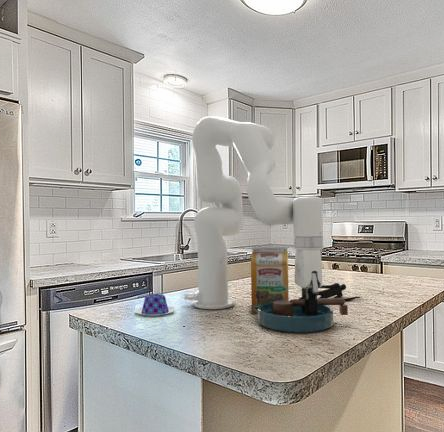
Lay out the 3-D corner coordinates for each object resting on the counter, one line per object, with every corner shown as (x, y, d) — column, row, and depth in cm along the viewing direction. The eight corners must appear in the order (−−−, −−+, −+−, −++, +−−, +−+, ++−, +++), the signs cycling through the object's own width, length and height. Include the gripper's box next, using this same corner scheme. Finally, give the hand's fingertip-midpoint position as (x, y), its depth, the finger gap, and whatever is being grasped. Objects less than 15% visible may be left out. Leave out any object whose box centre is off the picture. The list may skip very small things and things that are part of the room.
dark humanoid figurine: (314, 287, 125) (360, 273, 140) (293, 292, 131) (339, 278, 147) (322, 313, 123) (367, 297, 139) (301, 317, 130) (346, 301, 145)
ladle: (275, 318, 105) (275, 301, 105) (271, 314, 110) (271, 297, 110) (350, 316, 106) (350, 299, 106) (343, 312, 111) (342, 296, 111)
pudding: (152, 319, 115) (152, 300, 115) (126, 313, 124) (126, 295, 124) (183, 312, 124) (183, 294, 124) (157, 306, 132) (157, 290, 132)
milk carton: (288, 306, 130) (287, 246, 130) (288, 314, 119) (287, 248, 119) (255, 305, 132) (254, 246, 132) (251, 313, 121) (250, 248, 122)
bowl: (265, 334, 99) (265, 318, 99) (253, 315, 118) (252, 301, 118) (344, 332, 99) (344, 316, 99) (319, 314, 119) (318, 300, 119)
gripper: (287, 242, 116) (288, 307, 116) (302, 245, 100) (303, 321, 100) (313, 241, 116) (314, 307, 116) (332, 245, 100) (334, 320, 100)
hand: (309, 313), depth 108 cm, fingers closed on ladle
